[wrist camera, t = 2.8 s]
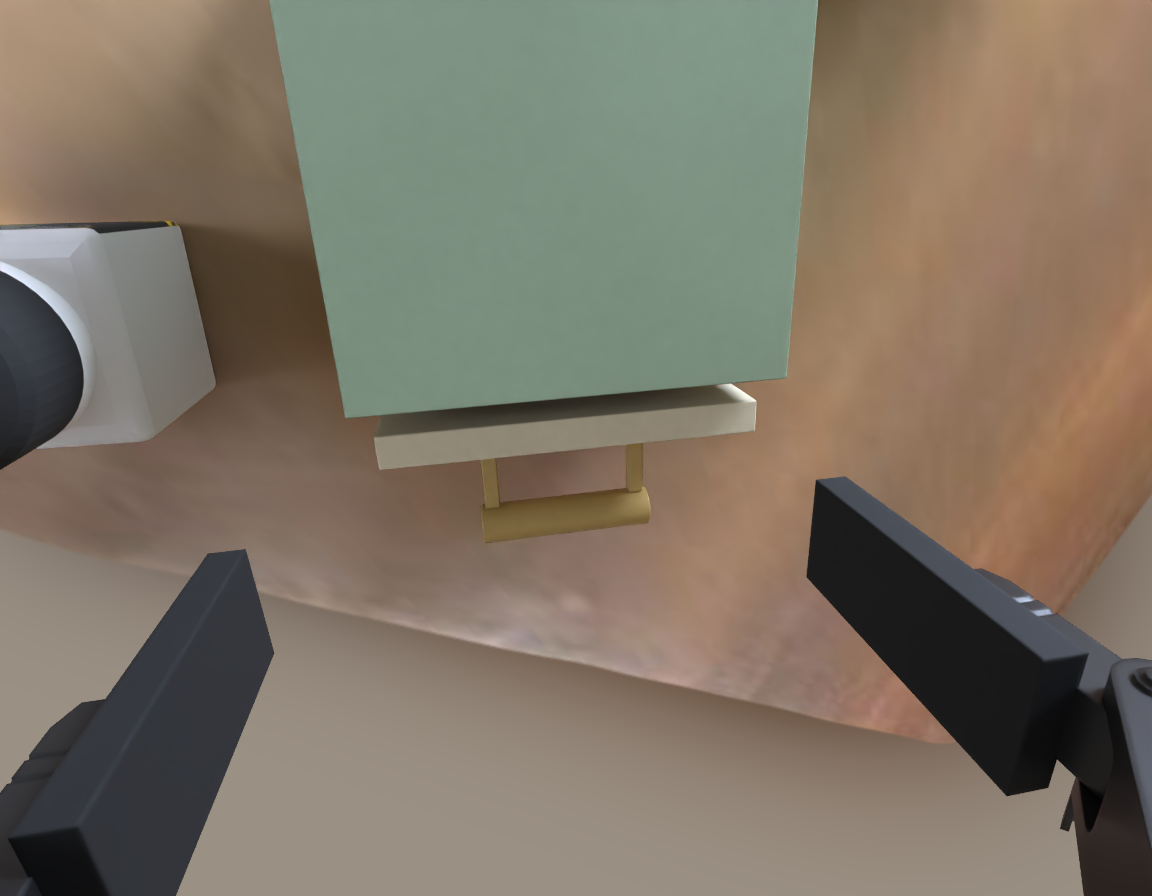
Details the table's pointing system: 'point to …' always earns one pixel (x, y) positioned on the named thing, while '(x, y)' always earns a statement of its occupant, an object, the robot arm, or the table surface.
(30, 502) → the table surface
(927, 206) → the table surface
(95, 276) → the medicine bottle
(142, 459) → the table surface
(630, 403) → the drawer
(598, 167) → the cabinet
